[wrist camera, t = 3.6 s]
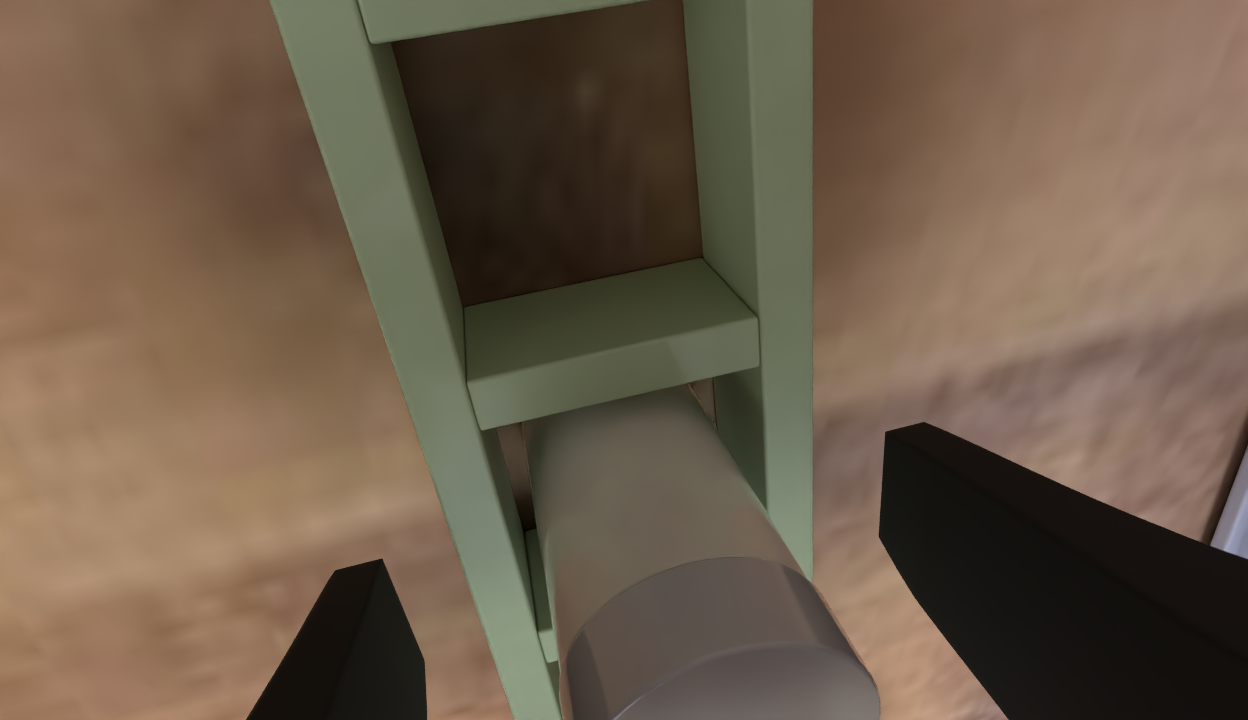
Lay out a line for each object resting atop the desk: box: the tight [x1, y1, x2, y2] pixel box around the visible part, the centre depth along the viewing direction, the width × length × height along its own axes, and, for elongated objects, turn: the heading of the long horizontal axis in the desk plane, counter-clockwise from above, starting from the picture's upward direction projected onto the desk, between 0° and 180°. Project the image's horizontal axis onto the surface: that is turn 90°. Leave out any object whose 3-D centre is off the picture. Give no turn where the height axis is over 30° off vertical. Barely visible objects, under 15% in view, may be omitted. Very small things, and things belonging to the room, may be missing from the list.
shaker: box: [522, 383, 880, 720], centre depth 10 cm, size 3×3×6 cm
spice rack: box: [269, 0, 813, 720], centre depth 12 cm, size 6×15×2 cm, turn 8°
